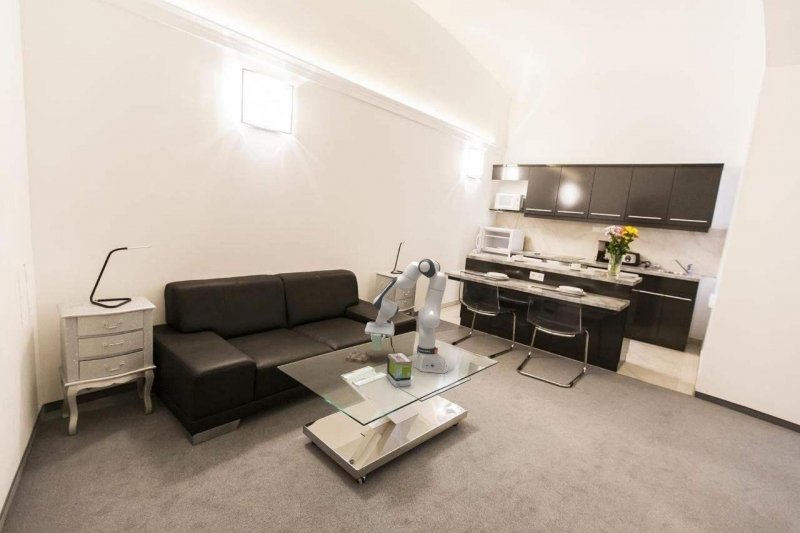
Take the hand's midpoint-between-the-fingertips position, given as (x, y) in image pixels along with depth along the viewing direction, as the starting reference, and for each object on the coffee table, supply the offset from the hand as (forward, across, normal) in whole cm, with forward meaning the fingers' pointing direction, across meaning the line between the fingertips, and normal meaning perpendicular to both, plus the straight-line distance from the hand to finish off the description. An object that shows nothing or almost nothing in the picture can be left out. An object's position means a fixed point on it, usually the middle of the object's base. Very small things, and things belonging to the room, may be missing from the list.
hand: (376, 340), depth 242 cm
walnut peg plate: (+10, -13, +11) cm, 19 cm away
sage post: (+4, 0, +5) cm, 6 cm away
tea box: (+28, +22, -6) cm, 36 cm away
